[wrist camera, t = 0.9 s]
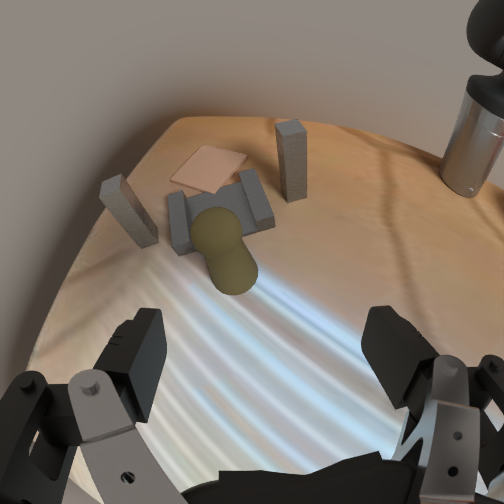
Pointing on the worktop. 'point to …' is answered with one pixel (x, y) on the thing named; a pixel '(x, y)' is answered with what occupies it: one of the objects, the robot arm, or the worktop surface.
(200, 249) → the cork
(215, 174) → the tile
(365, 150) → the worktop surface
